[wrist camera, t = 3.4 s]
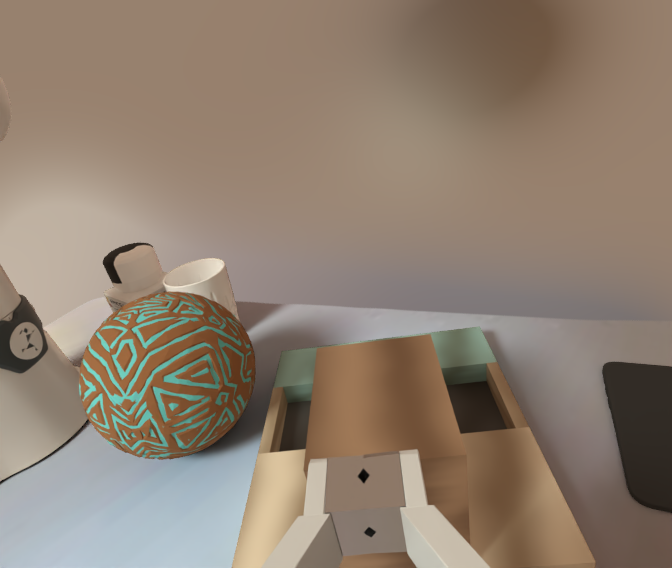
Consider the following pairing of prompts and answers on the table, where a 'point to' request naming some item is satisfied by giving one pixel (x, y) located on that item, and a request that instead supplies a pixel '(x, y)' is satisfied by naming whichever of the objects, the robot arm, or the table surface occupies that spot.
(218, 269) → the white cup
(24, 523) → the table surface
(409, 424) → the walnut block
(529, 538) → the board
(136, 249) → the container
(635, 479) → the phone
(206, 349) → the decorative sphere
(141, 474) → the table surface
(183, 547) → the table surface
